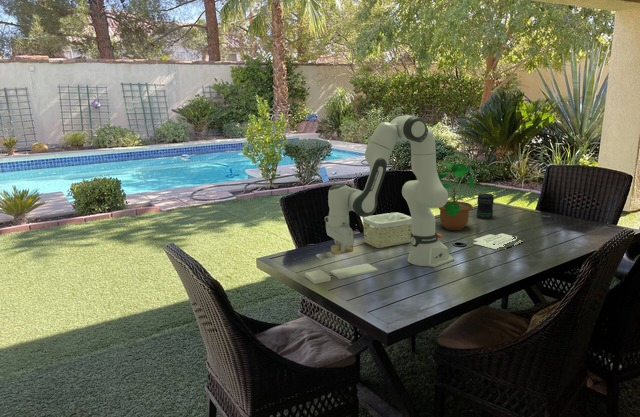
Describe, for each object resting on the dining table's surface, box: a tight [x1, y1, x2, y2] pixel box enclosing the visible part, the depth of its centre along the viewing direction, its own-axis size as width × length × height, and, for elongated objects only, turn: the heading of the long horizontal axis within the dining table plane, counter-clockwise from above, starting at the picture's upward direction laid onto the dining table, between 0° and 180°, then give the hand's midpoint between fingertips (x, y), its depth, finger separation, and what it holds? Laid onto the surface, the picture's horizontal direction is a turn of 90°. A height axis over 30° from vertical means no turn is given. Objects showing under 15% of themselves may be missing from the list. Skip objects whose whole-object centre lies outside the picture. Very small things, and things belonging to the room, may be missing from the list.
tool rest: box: [329, 262, 379, 280], centre depth 217 cm, size 20×9×1 cm, turn 116°
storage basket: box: [362, 211, 412, 249], centre depth 257 cm, size 24×16×15 cm
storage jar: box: [476, 193, 495, 221], centre depth 302 cm, size 10×10×15 cm
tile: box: [304, 269, 332, 285], centre depth 210 cm, size 2×10×8 cm
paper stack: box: [472, 232, 523, 250], centre depth 256 cm, size 20×28×4 cm
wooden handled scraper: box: [315, 244, 354, 260], centre depth 212 cm, size 17×5×4 cm, turn 115°
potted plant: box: [438, 163, 476, 231], centre depth 279 cm, size 31×29×40 cm
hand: (340, 249), depth 213 cm, fingers closed on wooden handled scraper, 2 cm apart
